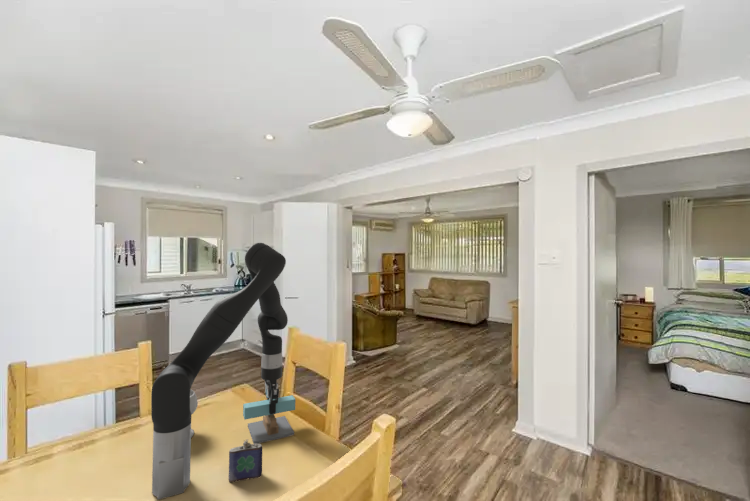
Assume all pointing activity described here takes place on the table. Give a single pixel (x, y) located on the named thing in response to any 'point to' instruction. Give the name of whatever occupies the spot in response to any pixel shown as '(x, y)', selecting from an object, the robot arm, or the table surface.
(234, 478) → the flask
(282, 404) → the batten
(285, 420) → the fulcrum
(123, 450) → the table surface
